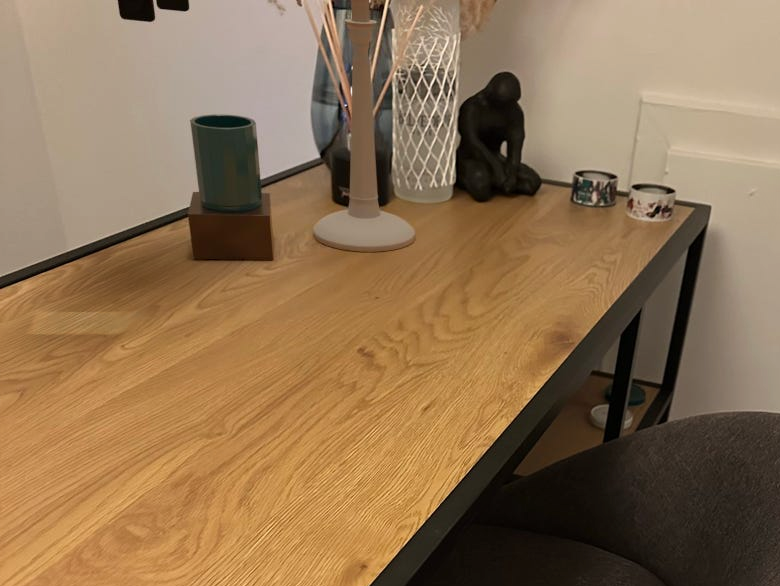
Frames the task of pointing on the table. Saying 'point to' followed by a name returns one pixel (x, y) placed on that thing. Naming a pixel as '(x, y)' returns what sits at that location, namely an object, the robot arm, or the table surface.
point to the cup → (227, 162)
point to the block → (231, 232)
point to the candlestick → (362, 163)
